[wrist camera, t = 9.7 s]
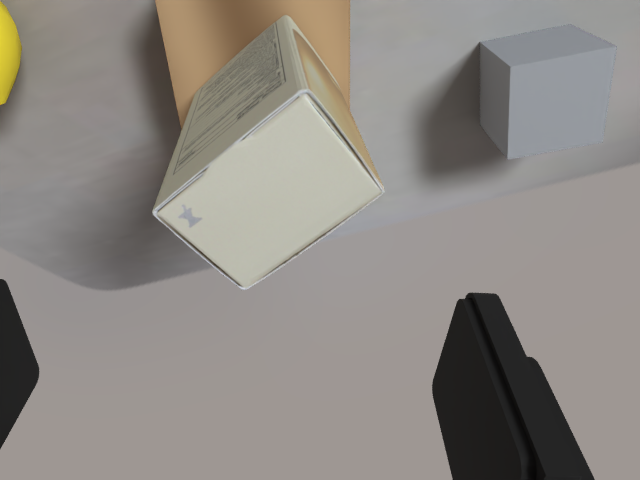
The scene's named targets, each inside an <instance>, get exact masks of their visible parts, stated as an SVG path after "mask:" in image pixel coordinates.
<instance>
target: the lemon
mask: <svg viewBox="0 0 640 480" xmlns="http://www.w3.org/2000/svg"><path fill="white" fill-rule="evenodd" d="M21 51H22V46H21V42H20V39H19V35H18V32H17V28H16V25H15V23H14V21H13V19H12V17H11V15H10V14H9V12H8V10H7V8H6V6H5V5H4V4H3V3H2V2H1V1H0V105H2V104H4V103H6V101H7V99H8V96H9V94H10V92H11V89H12V87H13V84H14V82H15V79H16V76H17V72H18V69H19V66H20V58H21Z"/></svg>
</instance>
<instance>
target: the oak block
mask: <svg viewBox="0 0 640 480" xmlns="http://www.w3.org/2000/svg"><path fill="white" fill-rule="evenodd" d="M155 2H156V7H157V12H158V17H159V22H160V27H161V32H162V36H163V41H164V46H165V51H166V56H167V61H168V66H169V71H170V76H171V81H172V86H173V91H174V96H175V101H176V106H177V111H178V116H179V121H180V126H181V131H182V128H183V125H184V123H185V120H186V117H187V115H188V112H189V109H190V106H191V103H192V101H193V98H194V95H195V93H196V92H197V91H198V90H199V89H200V88H201V87H202V86H203V85H204V84H205V83H206V82H207V81H208V80H209V79H210V78H211V77H213V76H214V75H215V74H216V73H217V72H218V71H219V70H220V69H221V68H222V67H223V66H225V65H226V64H227V63H228V62H229V61H230V60H231V59H232V58H234V57H235V56H236V55H237V54H238V53H239V52H240V51H241V50H242V49H244V48H245V47H246V46H247V45H248V44H249V43H251V42H252V41H253V40H254V39H255V38H257V37H258V36H259V35H260V34H261V33H262V32H264V31H265V30H266V29H267V28H268V27H270V26H271V25H272V24H273V23H275V22H276V21H277V20H278V19H280V18H281V17H282V16H284V15H288V16H289V17H291V19H292V20H293V21H294V23H295V24H296V25H297V26H298V28H299V29H300V31H301V32H302V33H303V34H304V36H305V37H306V38H307V40H308V41H309V42H310V44H311V45H312V47H313V48H314V49H315V51H316V52H317V54H318V55H319V56H320V58H321V59H322V61H323V62H324V63H325V65H326V66H327V68H328V69H329V71H330V72H331V74H332V75H333V76H334V78H335V79H336V81H337V83H338V85H339V87H340V89H341V92H342V94H343V97H344V99H345V101H346V103H347V105H348V108H349V110H350V0H155Z"/></svg>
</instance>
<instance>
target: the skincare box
mask: <svg viewBox="0 0 640 480" xmlns="http://www.w3.org/2000/svg"><path fill="white" fill-rule="evenodd" d="M384 192H385V190H384V187H383V184H382V182H381V180H380V178H379V176H378V173H377V171H376V169H375V167H374V165H373V162H372V160H371V158H370V155H369V153H368V151H367V149H366V146H365V144H364V142H363V139H362V137H361V135H360V132H359V130H358V128H357V126H356V124H355V121H354V119H353V117H352V114H351V112H350V110H349V108H348V105H347V103H346V101H345V99H344V97H343V94H342V92H341V89H340V87H339V85H338V83H337V81H336V79H335V78H334V76H333V75H332V74H331V72H330V71H329V69H328V68H327V66H326V65H325V63H324V62H323V61H322V59H321V58H320V56H319V55H318V54H317V52H316V51H315V49H314V48H313V47H312V45H311V44H310V42H309V41H308V40H307V38H306V37H305V36H304V34H303V33H302V32H301V31H300V29H299V28H298V26H297V25H296V24H295V23H294V21H293V20H292V19H291V17H289V16H288V15H284V16H282V17H281V18H280V19H278V20H277V21H276V22H275V23H273V24H272V25H271V26H270V27H268V28H267V29H266V30H265V31H264V32H262V33H261V34H260V35H259V36H258V37H257V38H255V39H254V40H253V41H252V42H251V43H249V44H248V45H247V46H246V47H245V48H244V49H242V50H241V51H240V52H239V53H238V54H237V55H236V56H235V57H234V58H232V59H231V60H230V61H229V62H228V63H227V64H226V65H225V66H223V67H222V68H221V69H220V70H219V71H218V72H217V73H216V74H215V75H214V76H213V77H211V78H210V79H209V80H208V81H207V82H206V83H205V84H204V85H203V86H202V87H201V88H200V89H199V90H198V91H197V92H196V93H195V95H194V98H193V101H192V103H191V106H190V109H189V112H188V115H187V117H186V120H185V123H184V125H183V128H182V131H181V134H180V137H179V139H178V142H177V145H176V148H175V150H174V153H173V156H172V158H171V161H170V163H169V166H168V169H167V172H166V174H165V177H164V180H163V183H162V186H161V188H160V191H159V194H158V197H157V200H156V202H155V205H154V207H153V211H152V213H153V215H154V216H155V217H156V218H157V219H158V220H159V221H160V222H162V223H163V224H164V225H165V226H167V227H168V228H169V229H170V230H171V231H172V232H173V233H174V234H175V235H176V236H178V237H179V238H180V239H181V240H182V241H183V242H184V243H186V244H187V245H188V246H189V247H190V248H191V249H193V250H194V251H195V252H196V253H197V254H198V255H200V256H201V257H202V258H203V259H204V260H205V261H206V262H208V263H209V264H210V265H211V266H212V267H214V268H215V269H216V270H217V271H218V272H220V273H221V274H222V275H223V276H225V277H226V278H228V279H229V280H230V281H232V282H233V283H234V284H235V285H236V286H238V287H239V288H240V289H242V290H246V289H248V288H250V287H252V286H253V285H255V284H256V283H258V282H260V281H261V280H263V279H264V278H266V277H268V276H269V275H271V274H273V273H274V272H275V271H277V270H278V269H280V268H281V267H283V266H284V265H286V264H288V263H289V262H290V261H292V260H293V259H295V258H296V257H298V256H299V255H300V254H302V253H303V252H305V251H306V250H308V249H309V248H310V247H312V246H313V245H315V244H316V243H317V242H319V241H320V240H322V239H323V238H324V237H326V236H327V235H329V234H330V233H331V232H333V231H334V230H336V229H337V228H338V227H340V226H341V225H343V224H344V223H345V222H347V221H348V220H349V219H351V218H352V217H353V216H355V215H356V214H357V213H359V212H360V211H361V210H363V209H364V208H365V207H367V206H368V205H369V204H371V203H372V202H373V201H375V200H376V199H377V198H379V197H380V196H381V195H383V194H384Z"/></svg>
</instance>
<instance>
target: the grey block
mask: <svg viewBox="0 0 640 480" xmlns="http://www.w3.org/2000/svg"><path fill="white" fill-rule="evenodd" d="M616 50H617V46H616V45H614V44H612V43H609V42H607V41H605V40H603V39H601V38H599V37H597V36H595V35H593V34H591V33H588V32H586V31H584V30H582V29H580V28H578V27H576V26H574V25H572V24H568V25H563V26H558V27H553V28H548V29H543V30H538V31H533V32H528V33H523V34H518V35H513V36H508V37H503V38H498V39H493V40H488V41H483V42H480V126H481V127H482V128H483V129H484V131H485V132H486V133H487V135H488V136H489V137H490V138H491V140H492V141H493V142H494V143H495V145H496V146H497V147H498V148H499V150H500V151H501V152H502V153H503V155H504V156H505V157H506V159H507V160H509V159H514V158H520V157H525V156H531V155H536V154H542V153H547V152H553V151H558V150H564V149H569V148H575V147H580V146H586V145H591V144H597V143H603V136H604V129H605V123H606V116H607V110H608V103H609V96H610V90H611V83H612V77H613V70H614V63H615V57H616Z"/></svg>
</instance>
